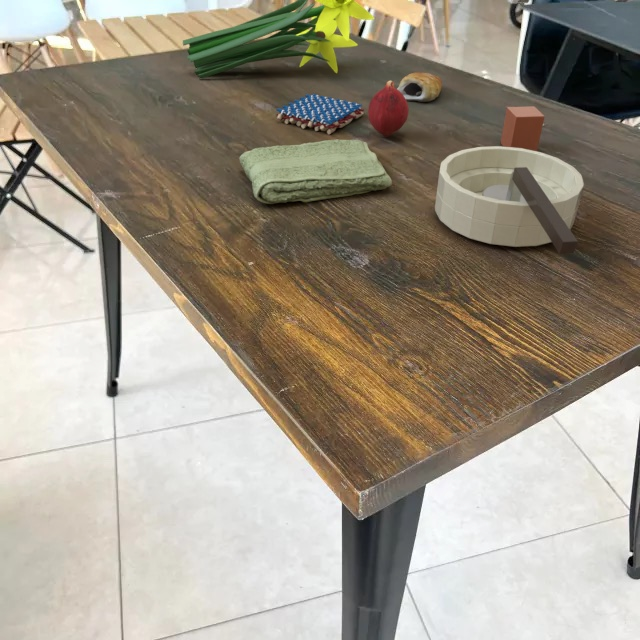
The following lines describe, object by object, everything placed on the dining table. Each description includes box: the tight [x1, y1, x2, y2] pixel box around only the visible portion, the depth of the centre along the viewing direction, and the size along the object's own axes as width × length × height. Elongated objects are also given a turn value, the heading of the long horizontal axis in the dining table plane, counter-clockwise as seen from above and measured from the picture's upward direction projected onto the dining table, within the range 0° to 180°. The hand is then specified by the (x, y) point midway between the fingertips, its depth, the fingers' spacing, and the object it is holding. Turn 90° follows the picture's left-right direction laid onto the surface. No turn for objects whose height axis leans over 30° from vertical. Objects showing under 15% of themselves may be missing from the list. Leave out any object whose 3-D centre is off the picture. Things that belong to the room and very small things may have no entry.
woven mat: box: [275, 93, 365, 135], centre depth 101 cm, size 10×11×2 cm
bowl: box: [434, 145, 585, 248], centre depth 74 cm, size 16×16×6 cm
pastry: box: [396, 71, 443, 103], centre depth 110 cm, size 9×7×4 cm
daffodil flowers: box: [182, 0, 375, 79], centre depth 117 cm, size 17×15×35 cm
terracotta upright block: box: [500, 106, 545, 152], centre depth 91 cm, size 4×4×5 cm
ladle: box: [482, 167, 579, 255], centre depth 68 cm, size 19×5×7 cm, turn 6°
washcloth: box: [238, 138, 393, 205], centre depth 83 cm, size 13×18×3 cm
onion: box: [367, 80, 410, 138], centre depth 93 cm, size 6×6×8 cm
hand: (569, 1), depth 57 cm, fingers open, 8 cm apart
